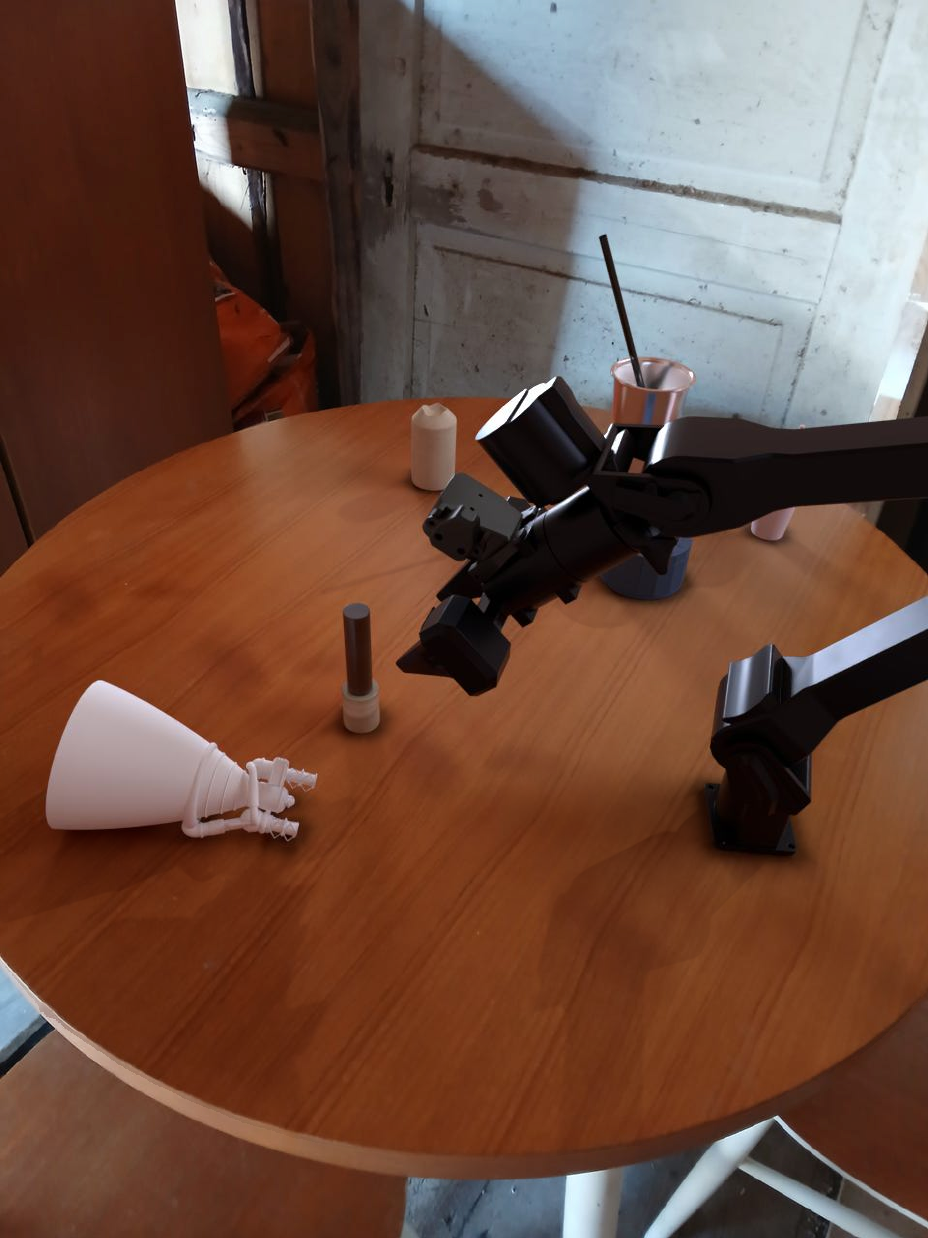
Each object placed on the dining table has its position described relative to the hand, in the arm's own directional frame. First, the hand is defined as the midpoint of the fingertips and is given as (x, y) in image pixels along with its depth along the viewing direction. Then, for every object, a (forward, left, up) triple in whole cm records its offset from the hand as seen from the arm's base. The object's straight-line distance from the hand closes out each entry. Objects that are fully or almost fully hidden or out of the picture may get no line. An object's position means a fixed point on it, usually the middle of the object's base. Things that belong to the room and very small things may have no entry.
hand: (420, 631), depth 73 cm
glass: (+47, -22, -12) cm, 53 cm away
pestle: (+1, +5, -12) cm, 13 cm away
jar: (+27, -22, -12) cm, 37 cm away
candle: (+45, +3, -12) cm, 47 cm away
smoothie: (+38, -38, -12) cm, 55 cm away
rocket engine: (-12, +17, -12) cm, 24 cm away
